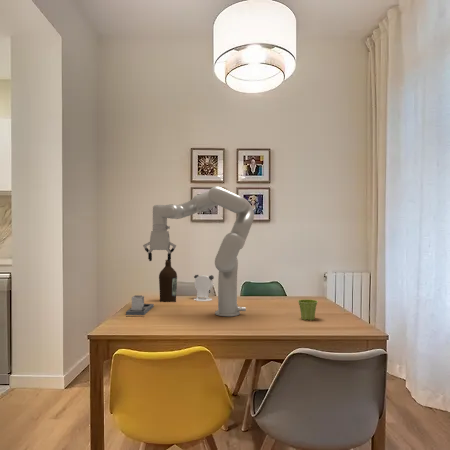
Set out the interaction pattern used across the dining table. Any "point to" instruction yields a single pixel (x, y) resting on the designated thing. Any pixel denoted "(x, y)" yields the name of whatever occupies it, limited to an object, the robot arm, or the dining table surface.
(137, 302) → the block
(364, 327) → the dining table surface
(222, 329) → the dining table surface
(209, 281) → the panda figurine
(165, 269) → the olive oil
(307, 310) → the plant pot
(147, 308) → the rail
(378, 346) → the dining table surface
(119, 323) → the dining table surface
